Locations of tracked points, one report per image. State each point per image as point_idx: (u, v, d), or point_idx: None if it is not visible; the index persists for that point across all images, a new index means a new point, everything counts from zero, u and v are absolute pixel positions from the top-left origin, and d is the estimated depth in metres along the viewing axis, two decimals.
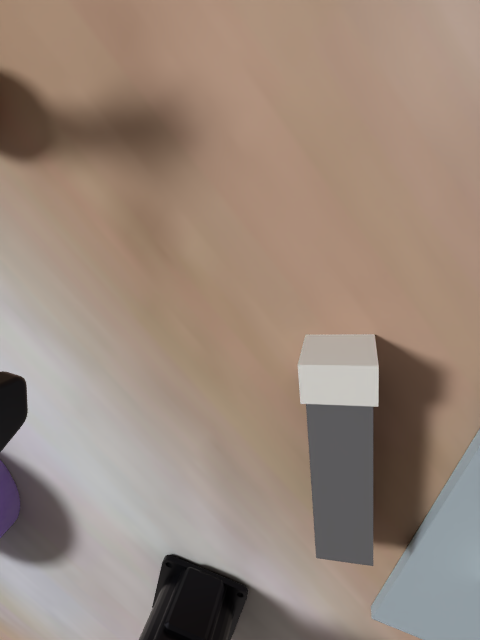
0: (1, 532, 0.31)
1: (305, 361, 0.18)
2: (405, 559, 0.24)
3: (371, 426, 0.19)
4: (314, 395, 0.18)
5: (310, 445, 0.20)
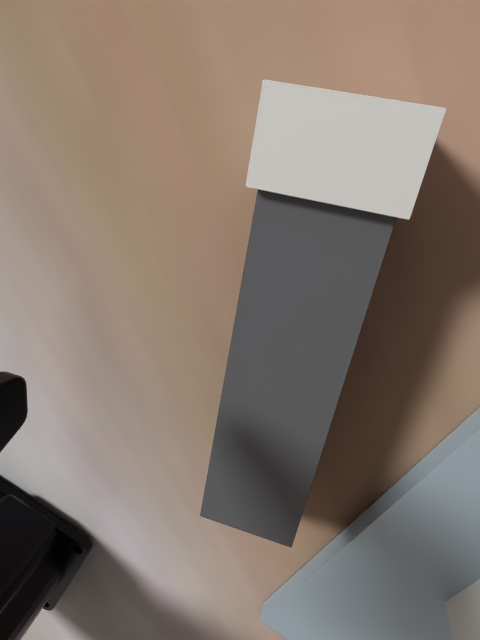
0: None
1: None
2: (336, 547, 0.15)
3: (374, 274, 0.09)
4: (280, 169, 0.08)
5: (242, 298, 0.10)
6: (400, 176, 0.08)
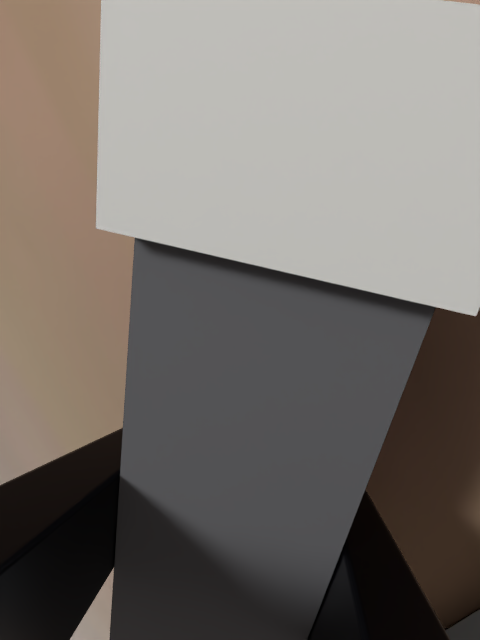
0: None
1: None
2: None
3: (386, 413, 0.04)
4: (164, 191, 0.04)
5: (128, 432, 0.05)
6: (457, 211, 0.03)
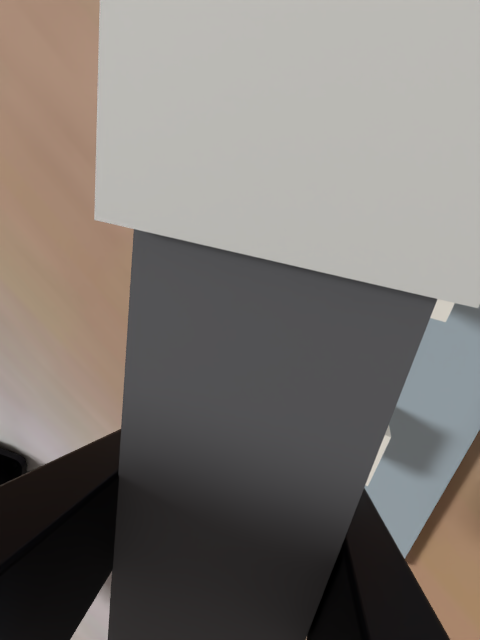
0: None
1: None
2: None
3: (387, 407, 0.04)
4: (164, 182, 0.04)
5: (127, 428, 0.05)
6: (459, 202, 0.03)
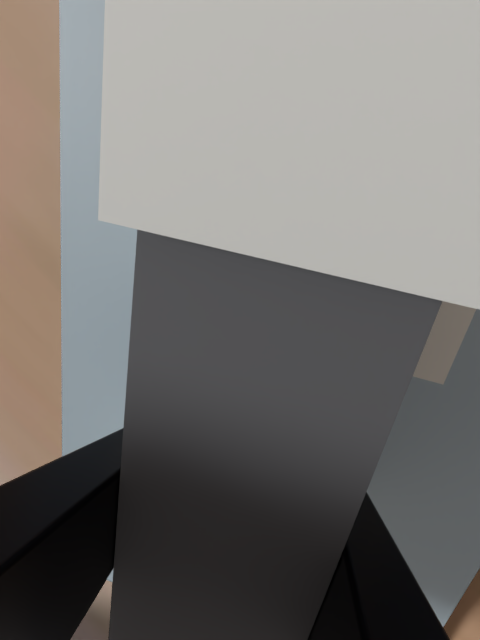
0: None
1: None
2: None
3: (390, 409, 0.04)
4: (168, 182, 0.03)
5: (129, 429, 0.05)
6: (466, 204, 0.03)
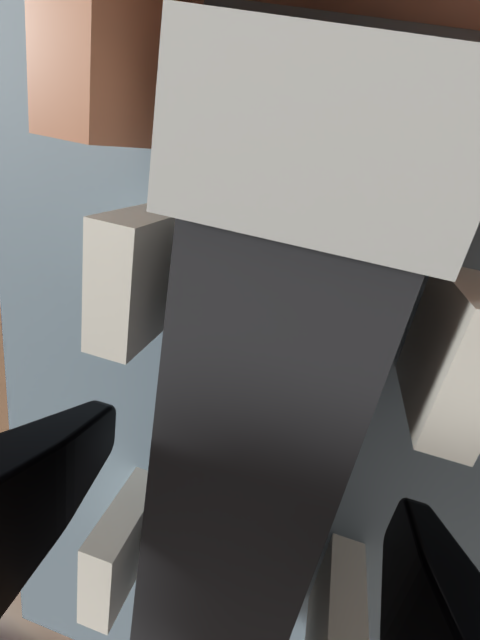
0: None
1: None
2: None
3: (383, 368, 0.05)
4: (205, 181, 0.04)
5: (161, 391, 0.06)
6: (440, 197, 0.04)
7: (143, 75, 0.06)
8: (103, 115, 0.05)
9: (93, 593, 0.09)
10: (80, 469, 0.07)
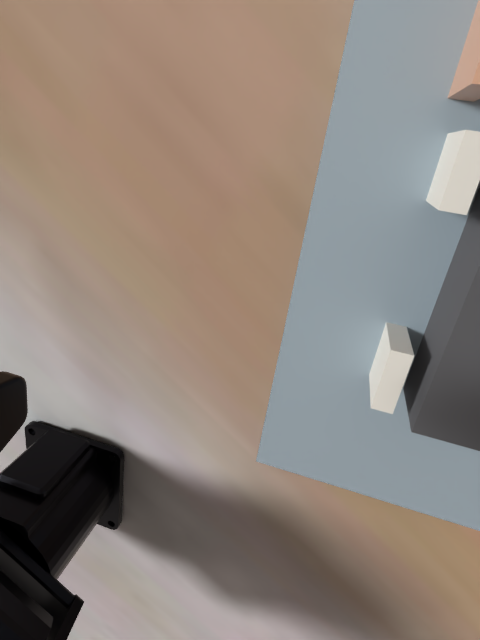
0: None
1: None
2: (277, 365, 0.19)
3: None
4: None
5: None
6: None
7: None
8: None
9: (392, 381, 0.15)
10: None
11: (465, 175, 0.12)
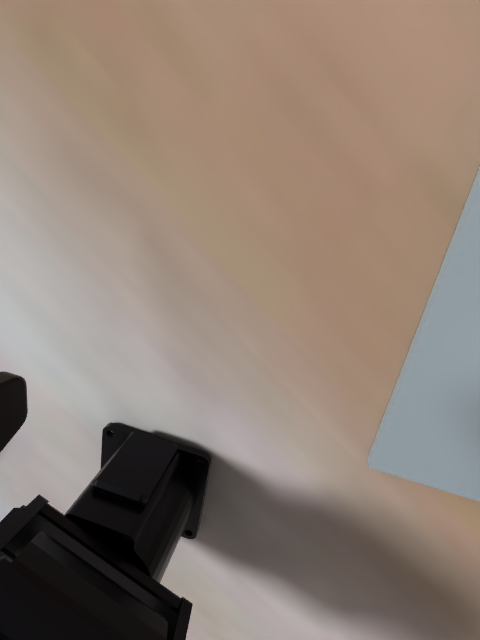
0: None
1: None
2: (406, 365, 0.18)
3: None
4: None
5: None
6: None
7: None
8: None
9: None
10: None
11: None
